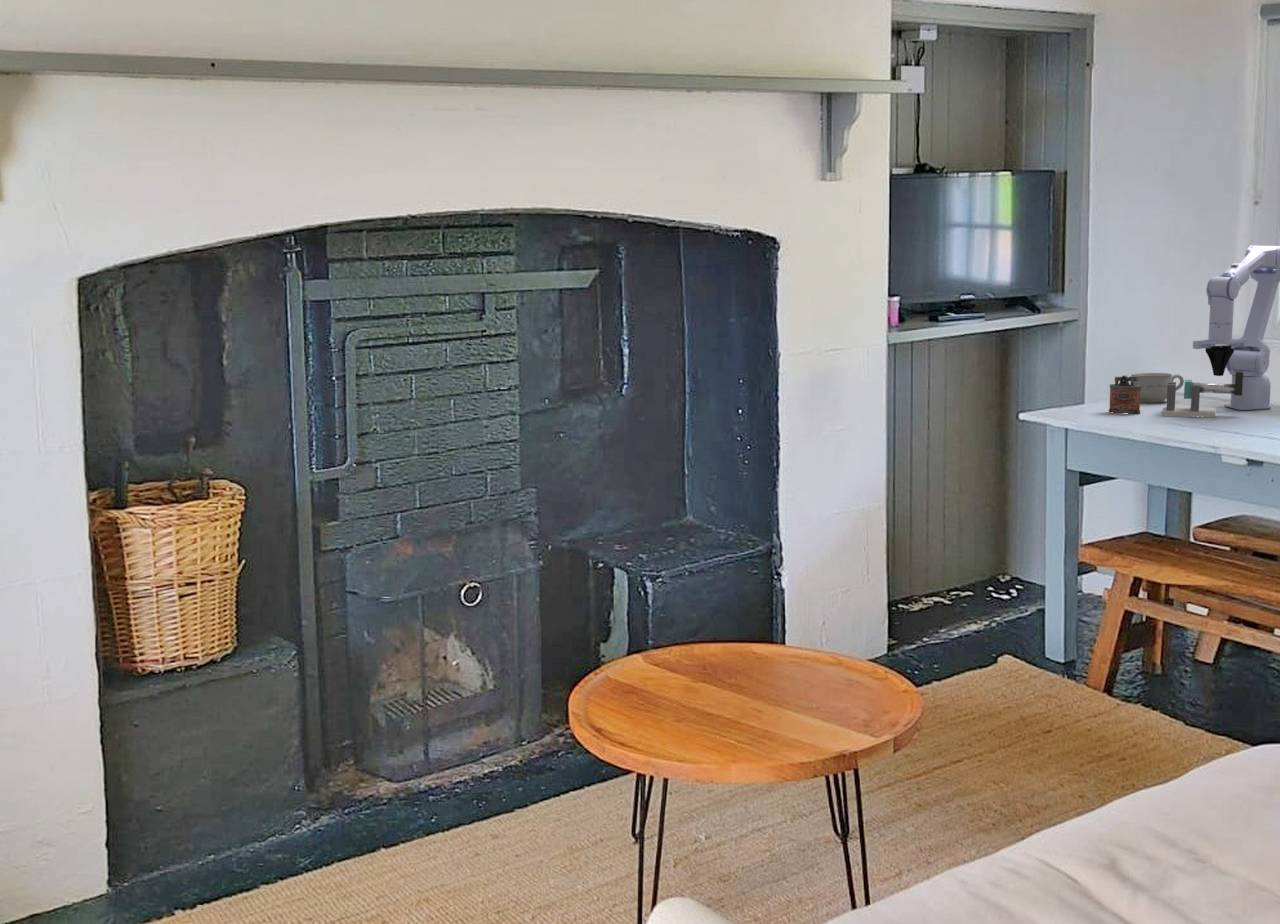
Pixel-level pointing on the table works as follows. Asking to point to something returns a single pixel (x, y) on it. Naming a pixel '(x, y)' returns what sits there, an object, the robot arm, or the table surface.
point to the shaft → (1224, 386)
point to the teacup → (1155, 385)
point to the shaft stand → (1185, 411)
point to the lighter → (1125, 395)
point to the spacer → (1188, 389)
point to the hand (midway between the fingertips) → (1218, 375)
